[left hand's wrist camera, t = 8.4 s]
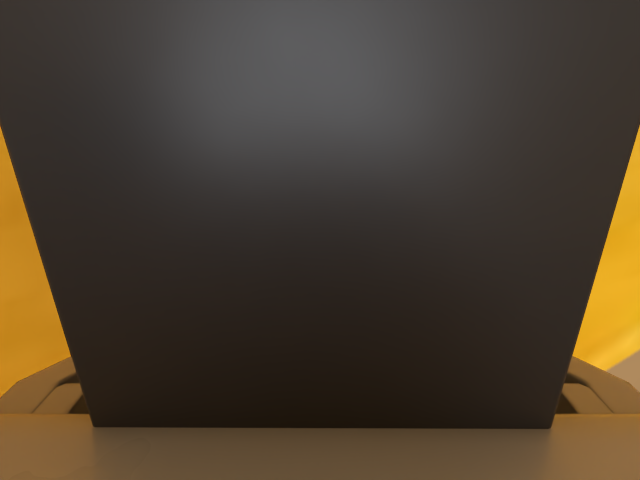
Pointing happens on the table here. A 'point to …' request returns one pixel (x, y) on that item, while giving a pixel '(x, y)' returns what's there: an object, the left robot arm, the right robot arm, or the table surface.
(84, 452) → the left robot arm
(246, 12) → the box
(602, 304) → the table surface
